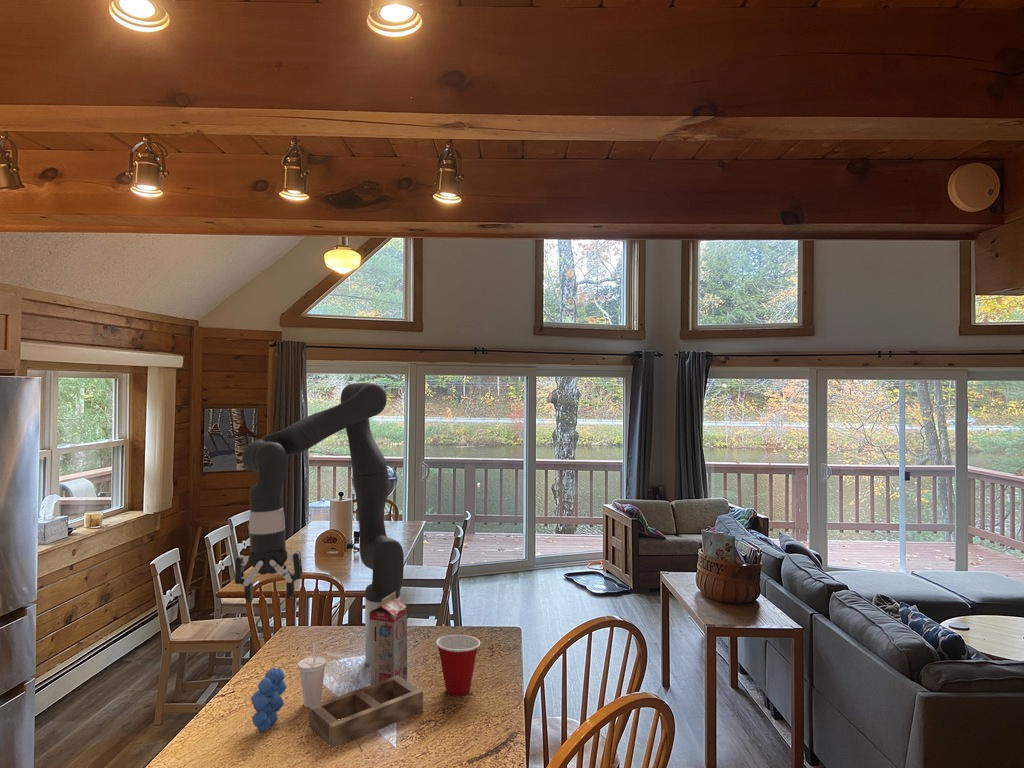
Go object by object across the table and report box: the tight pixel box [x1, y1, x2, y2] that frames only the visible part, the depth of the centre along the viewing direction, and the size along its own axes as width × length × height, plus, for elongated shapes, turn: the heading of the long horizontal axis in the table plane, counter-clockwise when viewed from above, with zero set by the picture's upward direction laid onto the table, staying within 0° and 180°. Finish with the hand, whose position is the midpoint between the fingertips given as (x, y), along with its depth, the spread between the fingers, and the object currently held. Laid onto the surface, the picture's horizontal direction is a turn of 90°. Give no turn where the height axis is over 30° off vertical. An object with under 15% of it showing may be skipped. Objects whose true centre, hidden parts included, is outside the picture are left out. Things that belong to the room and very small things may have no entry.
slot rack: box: [308, 675, 424, 749], centre depth 138 cm, size 22×11×4 cm, turn 132°
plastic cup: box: [435, 634, 482, 697], centre depth 151 cm, size 11×11×12 cm
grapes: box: [250, 667, 287, 734], centre depth 135 cm, size 12×7×12 cm, turn 173°
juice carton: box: [369, 592, 408, 685], centre depth 154 cm, size 7×7×22 cm
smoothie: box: [297, 642, 327, 708], centre depth 145 cm, size 6×6×14 cm
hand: (269, 599), depth 142 cm, fingers open, 8 cm apart
